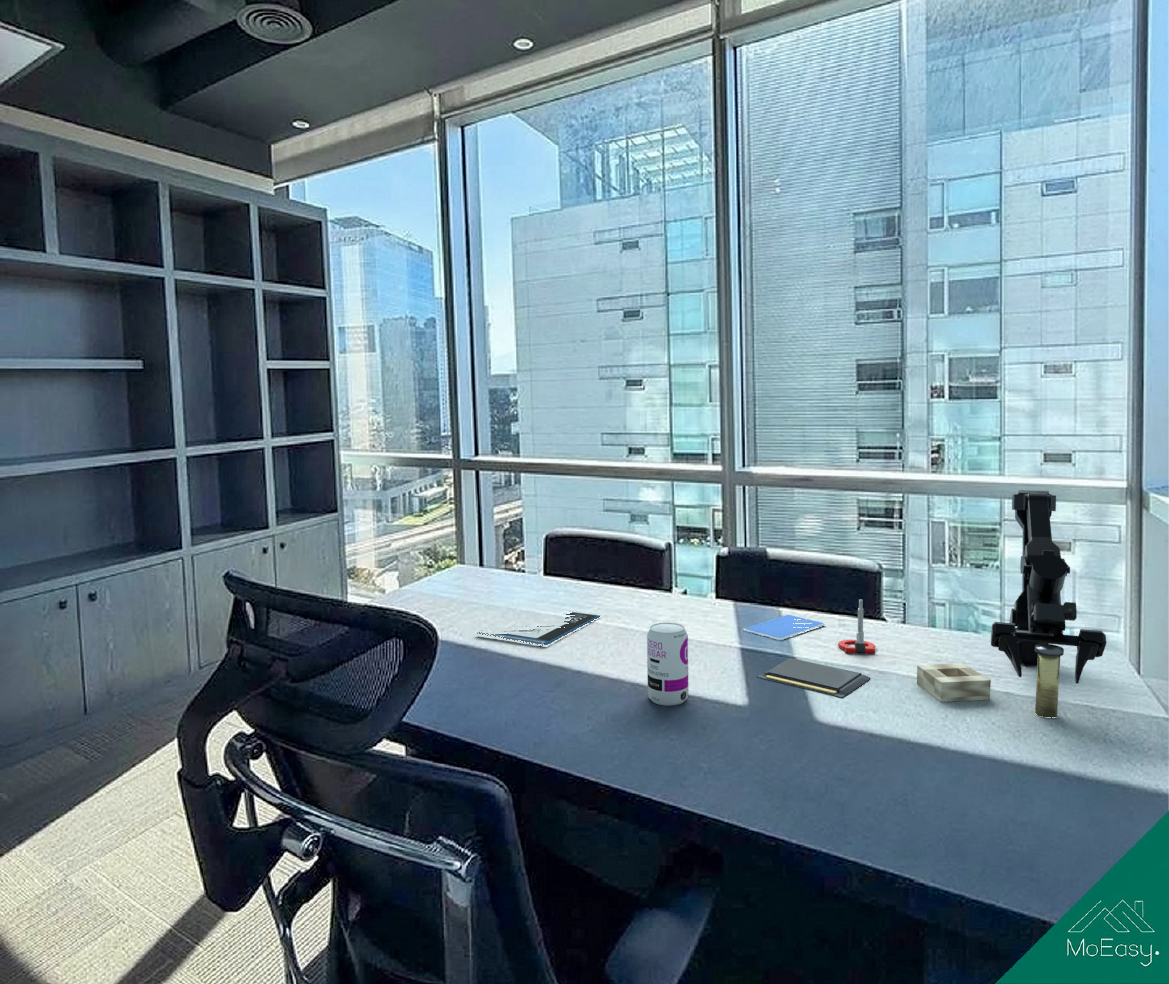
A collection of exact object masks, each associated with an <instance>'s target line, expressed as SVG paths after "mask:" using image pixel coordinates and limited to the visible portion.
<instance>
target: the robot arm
mask: <svg viewBox="0 0 1169 984" xmlns="http://www.w3.org/2000/svg"><path fill="white" fill-rule="evenodd" d="M1011 510H1012V511H1014V518H1015V521H1016V522H1017V524H1018V525H1019V527H1020V528H1021V529H1022V553H1021V554H1022V555H1021V557H1020V562H1019V563H1020V565H1019V570H1020V574H1021V575H1022V579H1021V581H1022V584H1021V585H1022V588H1021V591H1022V592H1021V593H1020V594H1019V596H1018V597H1017V598H1016V600H1015V602H1014V608H1011V610H1010V616H1009V622H1002V621H994V622H993V623H992V624H991V630H990V646H991V647H993V648H997V649H998V651H999V652H1004V654H1005V655H1006V657H1007V658H1008V660H1009V661H1010V662H1011V665H1012V667H1013V669H1014V671H1015V672H1016V675H1017V676H1018V678H1022V672H1023V671H1022V669H1023V668H1022V666H1025V667H1030V666H1031V667H1032V666H1033V667H1035V666H1037V662H1038V653H1037V652H1035V645H1037V644H1052V645H1057V646H1060V645H1061V646H1068V647H1069V646H1070V647H1076V655H1075V666H1074V667H1075V669H1074V682H1075V684H1078V685H1079V683H1080V679H1081V677H1082V673H1083V670H1084V668H1085V666H1086V664H1087V662H1088V661H1094V660H1095V659H1096V658H1100V657H1103V654H1104V651H1105V648H1106V646H1107V638H1106V637H1107V636H1106V634H1105V633H1104V632H1103V631H1102V630H1099V629H1098V630H1097V629H1095V630H1094V629H1086V628H1085V629H1084V628H1080V629H1079V633H1078V635H1071V634H1070V635H1069V634H1064V631H1066V627H1067V626H1066V621H1073V622H1074V621H1076V619H1077V616H1078V615H1077V613H1078V611H1077V609H1078V608H1077V603H1076V602H1070V601H1068V602H1067V601H1065V602H1064V603H1063V604H1062V598H1061V596H1062V595H1061V591H1062V590H1063V588H1064V584H1065V580H1066V577H1067V575H1068V574H1071V566H1069V564H1067V563H1068V562H1066V559H1065V558H1062V555H1061V548H1060V547H1059V546H1058V545H1057V544H1056V543H1055V542H1053V537H1052V536H1053V535H1052V525H1051V518H1052V517H1051V516H1052V513H1053V512H1057V511H1056V510H1057V495H1054V494H1053V495H1052V494H1051V493H1050V491H1049V490H1035V489H1033V490H1030V489H1029V490H1028V489H1025V490H1024V489H1019V490H1018V492H1017V493H1015V494H1012V497H1011Z"/></svg>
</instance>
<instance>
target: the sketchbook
mask: <svg viewBox="0 0 1169 984" xmlns="http://www.w3.org/2000/svg"><path fill="white" fill-rule="evenodd" d="M571 612H572V613H570V614H566V615H575V616H570V617H565V619H571V620H570V621H564V622H559V623H569V624H559V625H551V626H540V627H561V628H553V629H546V630H541V629H533V630H531V629H530V630H517V631H516V630H514V631H513V630H511V631H504V632H532V633H513V634H512V633H510V634H509V633H507V634H495V635H494V634H491V635H493V636H495V637H496V636H498V637H500V636H502V637H503V636H504V637H503V639H504V638H506V640H507V639H509V640H510V639H512V640H514V641H515V640H517V641H518V640H521V641H523V643H524V641H525V642H526V643H527V642H529V644H530V642H531V643H532V644H533V643H535V644H537V645H538V644H542V646H543V644H544V645H548V644H551V643H552V642H554V641H555V640H558V639H559V638H561V637H562V636H565V635H567V634H568V633H570V632H573V631H574V630H576V629H577V628H579V627H582V626H583V625H585V624H587V623H590V622H591V621H593V620H594V619H597V618H599V617H600V616H601V615H598V614H590V613H585V612H577V611H576V612H575V611H571ZM599 619H600V618H599ZM590 624H591V623H590ZM526 627H527V626H526ZM537 627H539V626H537ZM564 627H565V628H564ZM502 632H503V631H502ZM534 632H535V633H534ZM476 633H477V634H478V633H479V634H481V633H482V632H481V633H480V631H478V632H476ZM483 634H485V633H482V635H483ZM486 634H488V633H486ZM486 634H485V635H486ZM488 635H489V634H488ZM488 635H487V636H488ZM491 635H490V636H491ZM502 637H501V638H502ZM521 641H520V642H521ZM540 646H541V645H540Z"/></svg>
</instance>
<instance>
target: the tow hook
mask: <svg viewBox="0 0 1169 984" xmlns="http://www.w3.org/2000/svg"><path fill="white" fill-rule="evenodd" d="M863 603H864V602H863V599H858V608H857V631H856V639H843V640H840V641H838V643H837V647H838V648H840V649H841V650H844V652H845V654H855V653H858V654H857V655H875V654H876V645H875V643H873V642H871V641H866V640H865V633H864V608H863ZM846 644H848V645H846ZM850 645H854V646H850Z"/></svg>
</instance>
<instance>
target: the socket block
mask: <svg viewBox="0 0 1169 984" xmlns="http://www.w3.org/2000/svg"><path fill="white" fill-rule="evenodd" d="M991 682H992V681H991V679H989V677H987V676H985V675H984V674H981V672H979V671H977V670H975V669H974V668H972V667H971V666H969V665H968V664H965V663H964V662H962V663H961V662H960V663H959V662H958V663H957V662H956V663H955V662H954V663H939V664H938V663H936V664H918V665H917V666H916V684H917V685H918V686H919V687H920V688H922V689H923V690H925V691H926V692H927V693H929V694H930V695H931V696H932V695H933V696H932V697H934V698H935V699H936V700H938V701H941V703H944V702H946V703H947V702H948V701H949V702H966V701H967V702H968V701H985V700H986V701H989V700H988V699H990V700H991V686H992V685H991Z"/></svg>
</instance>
